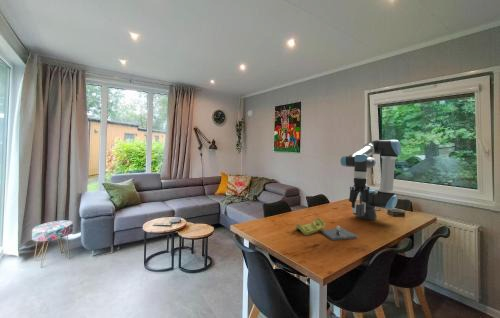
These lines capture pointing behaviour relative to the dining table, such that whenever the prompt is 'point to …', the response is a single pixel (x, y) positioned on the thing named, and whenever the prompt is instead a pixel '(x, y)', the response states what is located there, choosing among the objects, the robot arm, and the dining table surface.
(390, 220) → the dining table surface
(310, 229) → the plastic component
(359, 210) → the knob
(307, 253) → the dining table surface
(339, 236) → the hub plate
